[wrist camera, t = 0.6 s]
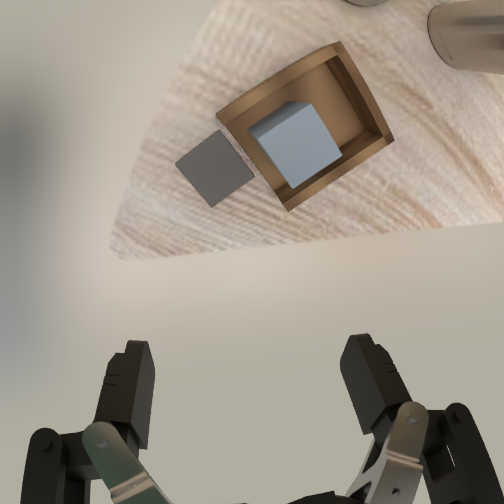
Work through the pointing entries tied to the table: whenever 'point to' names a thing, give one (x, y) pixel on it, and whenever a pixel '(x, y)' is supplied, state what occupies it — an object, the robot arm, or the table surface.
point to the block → (295, 141)
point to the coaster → (214, 169)
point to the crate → (328, 108)
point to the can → (367, 2)
